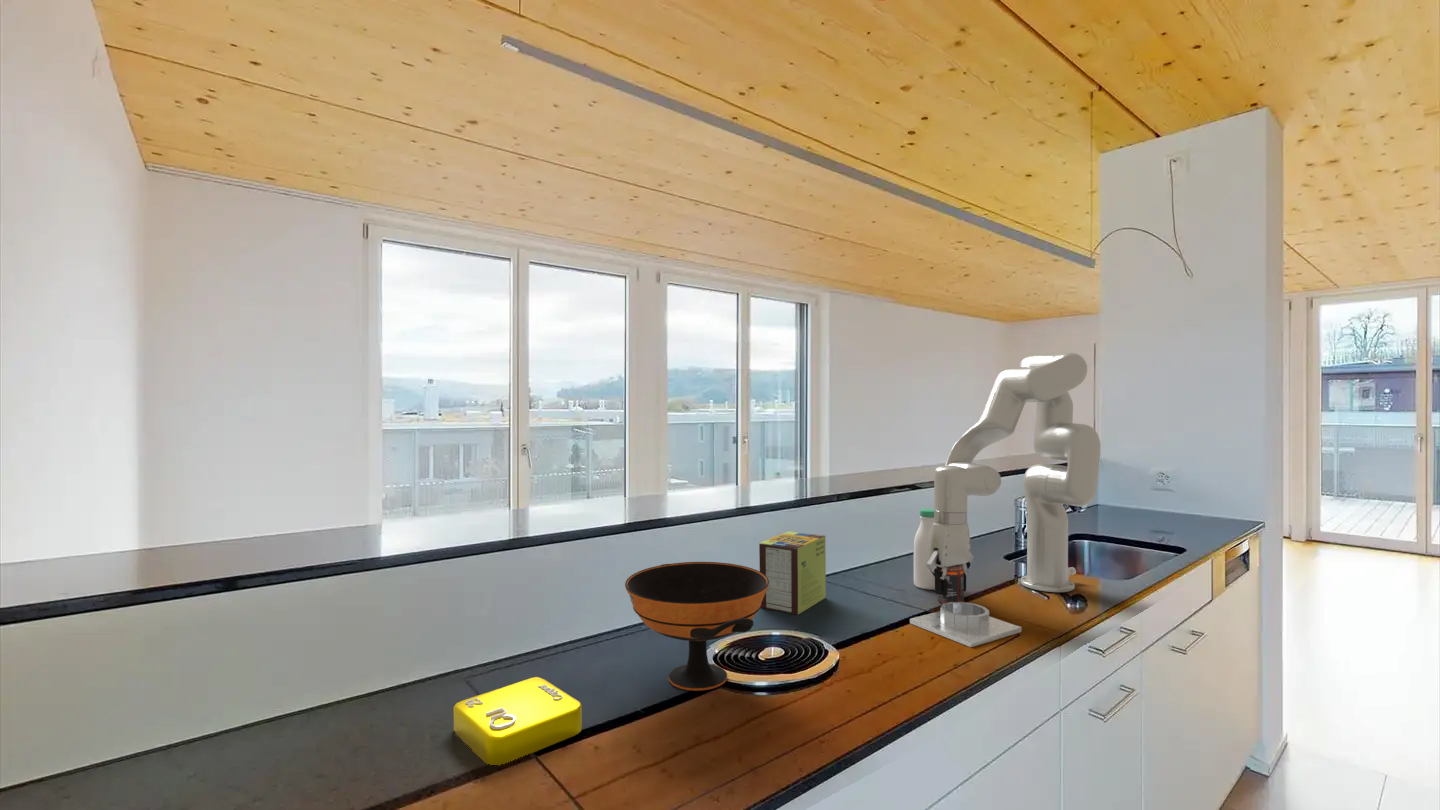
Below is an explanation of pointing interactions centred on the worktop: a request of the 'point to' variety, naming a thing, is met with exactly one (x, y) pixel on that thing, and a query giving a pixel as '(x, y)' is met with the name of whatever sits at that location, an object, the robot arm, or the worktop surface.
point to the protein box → (793, 571)
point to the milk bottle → (923, 551)
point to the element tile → (517, 720)
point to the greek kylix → (697, 610)
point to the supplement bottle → (953, 585)
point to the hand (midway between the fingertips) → (950, 591)
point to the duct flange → (965, 624)
